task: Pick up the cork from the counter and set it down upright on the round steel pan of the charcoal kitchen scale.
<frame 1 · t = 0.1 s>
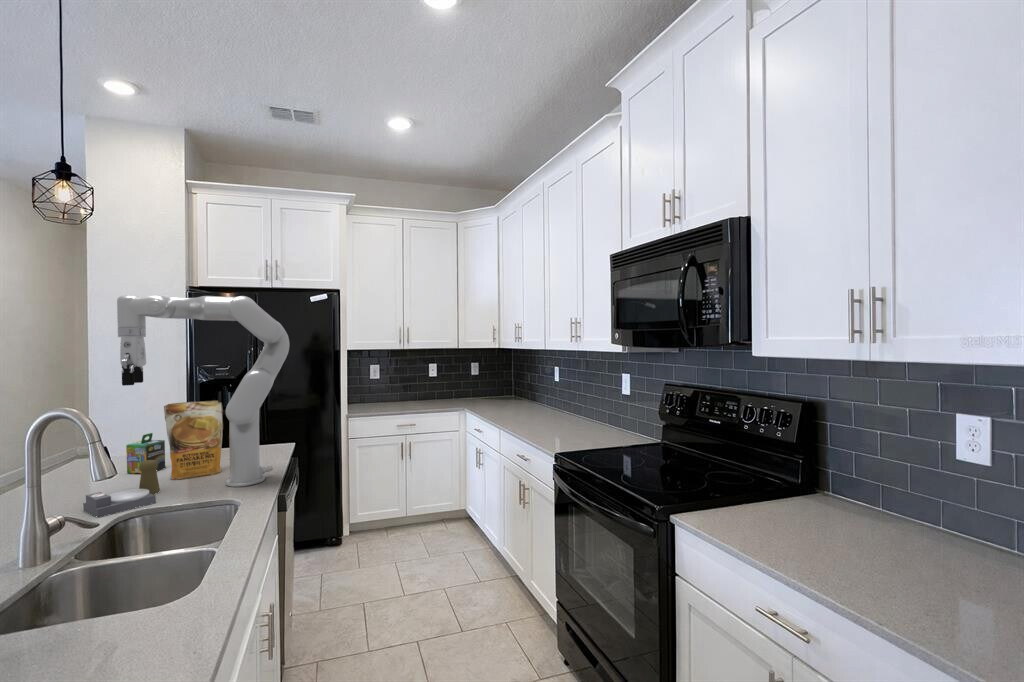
hand: (133, 383, 169), 37 cm above the worktop, tool pointing down, fingers open, 9 cm apart
kitchen scale: (120, 506, 157), on the worktop
cork: (149, 493, 171), on the worktop
chalk box: (146, 471, 199), on the worktop
pancake mix bag: (196, 476, 192), on the worktop
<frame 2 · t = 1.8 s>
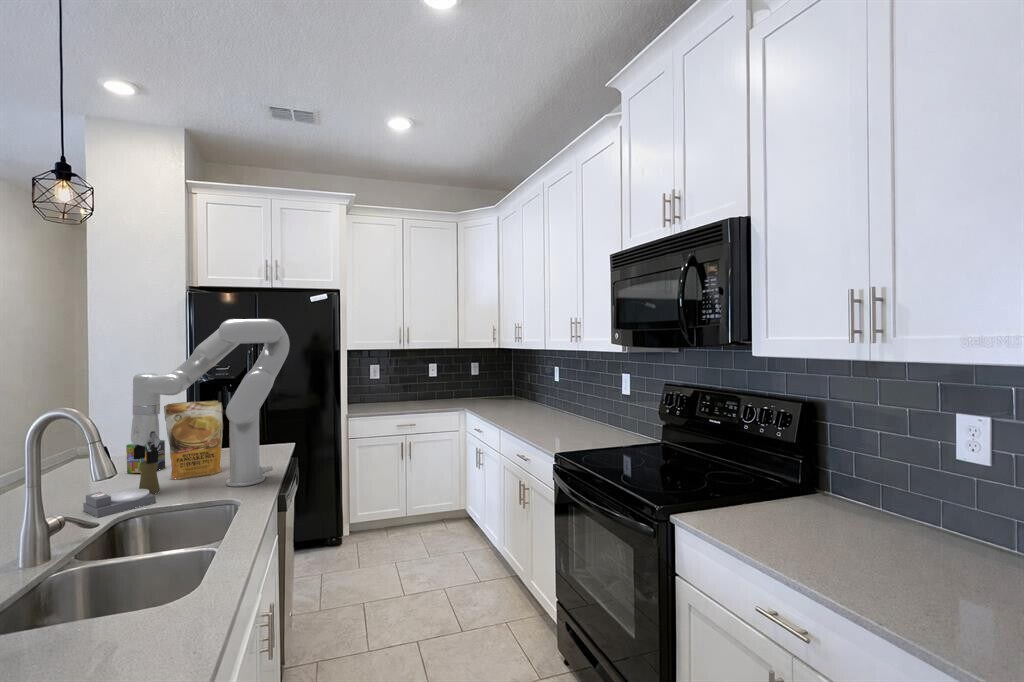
hand: (145, 460, 170), 11 cm above the worktop, tool pointing down, fingers open, 9 cm apart
nothing on the worktop moved.
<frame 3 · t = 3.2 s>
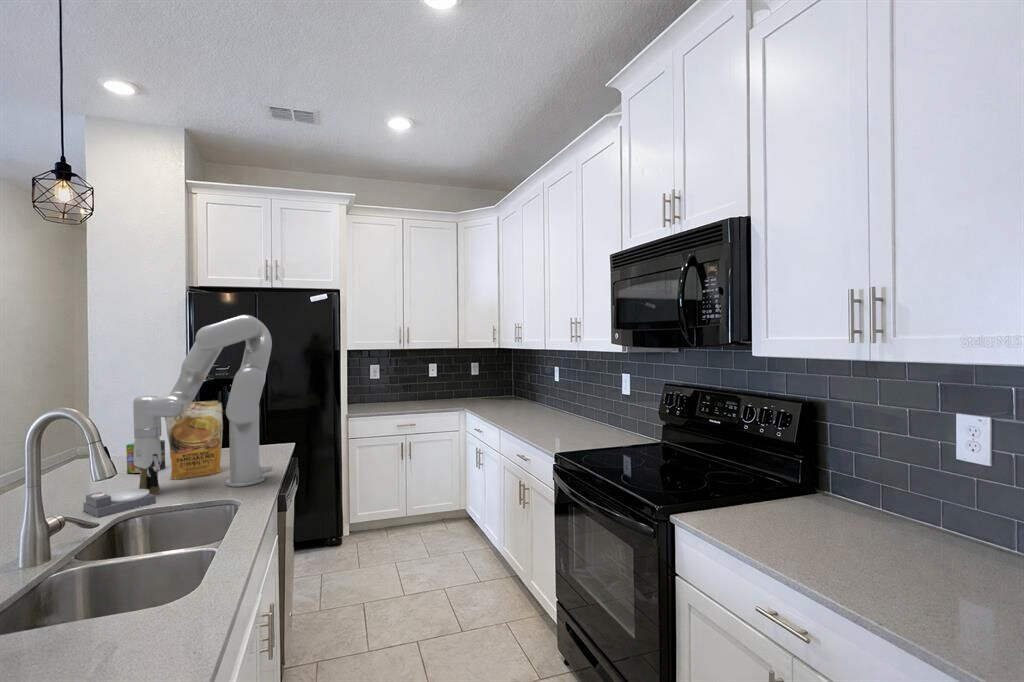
hand: (149, 486, 171), 2 cm above the worktop, tool pointing down, fingers closed on cork, 3 cm apart
cork: (149, 493, 171), on the worktop, touching gripper
everything else where it was.
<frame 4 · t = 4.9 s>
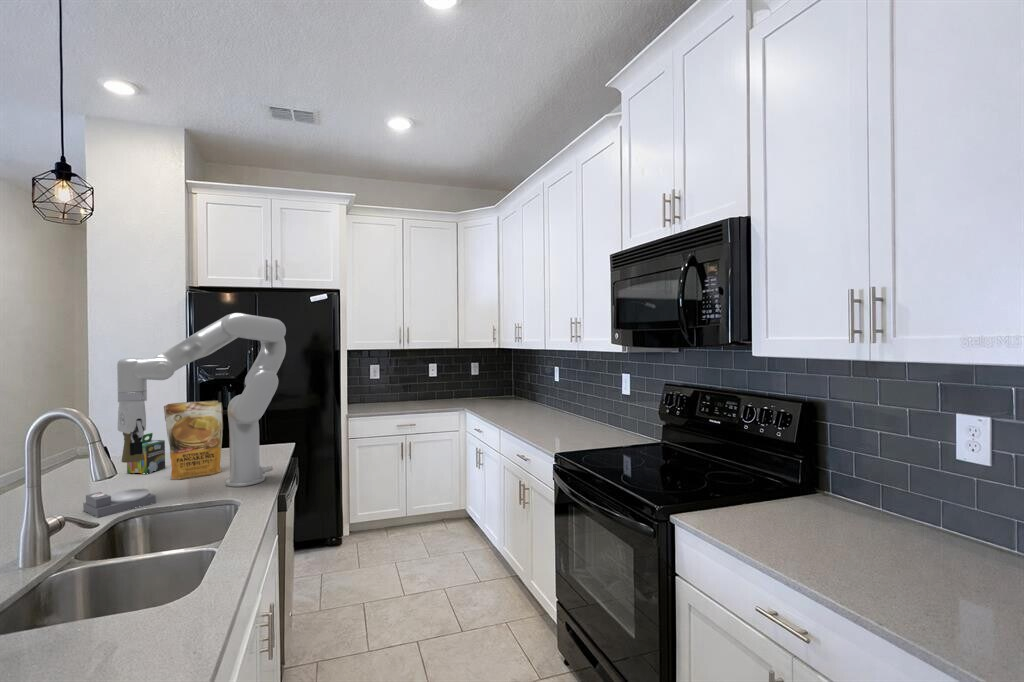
hand: (133, 453, 163), 15 cm above the worktop, tool pointing down, fingers closed on cork, 3 cm apart
cork: (133, 460, 163), point 13 cm above the worktop, touching gripper
everything else where it was.
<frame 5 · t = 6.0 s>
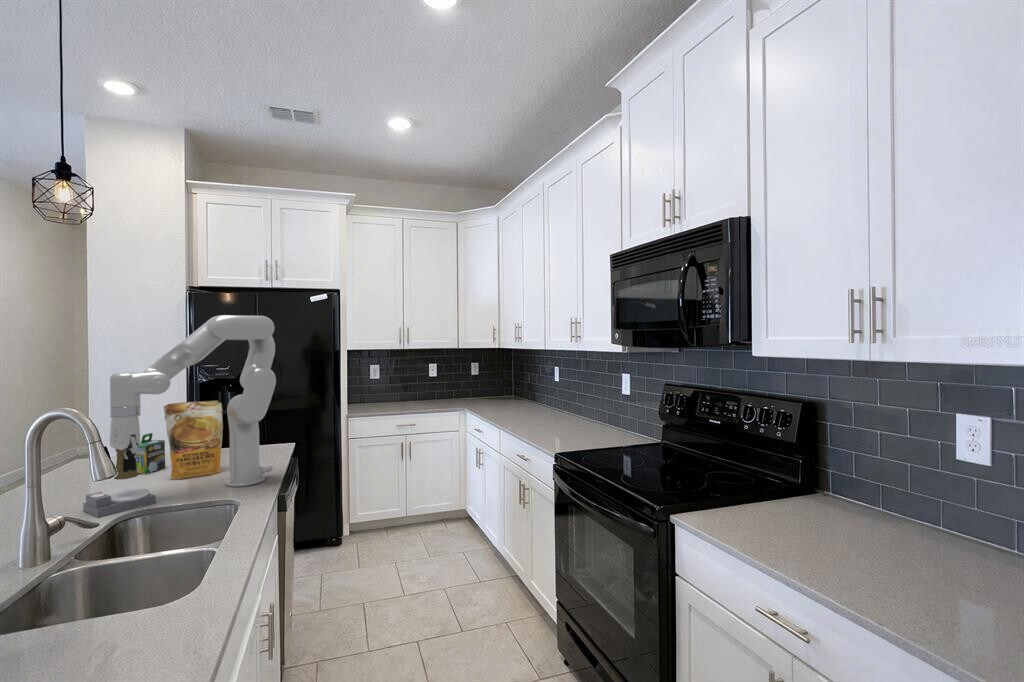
hand: (126, 469, 159), 11 cm above the worktop, tool pointing down, fingers closed on cork, 3 cm apart
cork: (126, 477, 159), point 9 cm above the worktop, touching gripper
everything else where it was.
when the fingers open (7 cm above the worktop, at t = 6.9 s): cork drops 2 cm, resting on kitchen scale.
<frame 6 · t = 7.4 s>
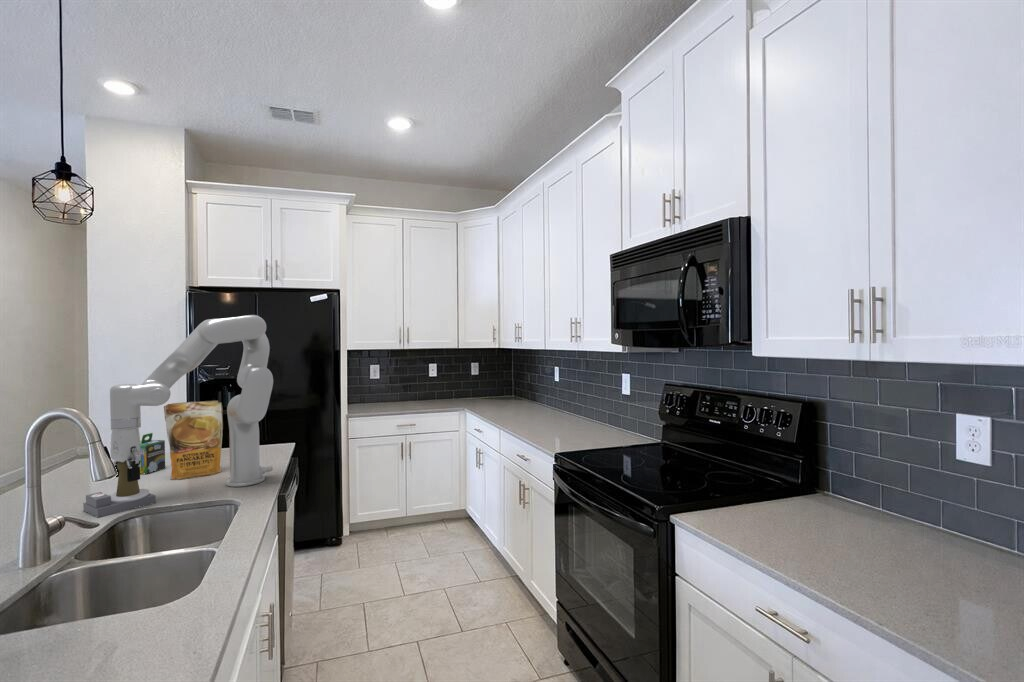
hand: (127, 478, 159), 8 cm above the worktop, tool pointing down, fingers open, 9 cm apart
cork: (128, 494, 159), point 3 cm above the worktop, touching kitchen scale
everything else where it was.
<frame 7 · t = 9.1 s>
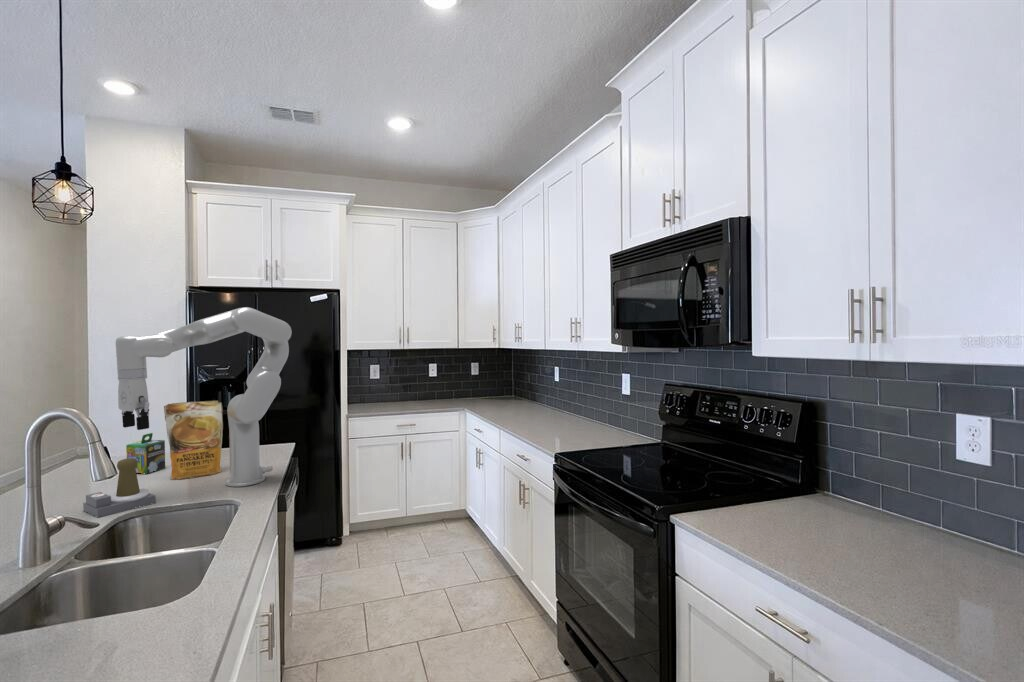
hand: (136, 427, 162), 24 cm above the worktop, tool pointing down, fingers open, 9 cm apart
nothing on the worktop moved.
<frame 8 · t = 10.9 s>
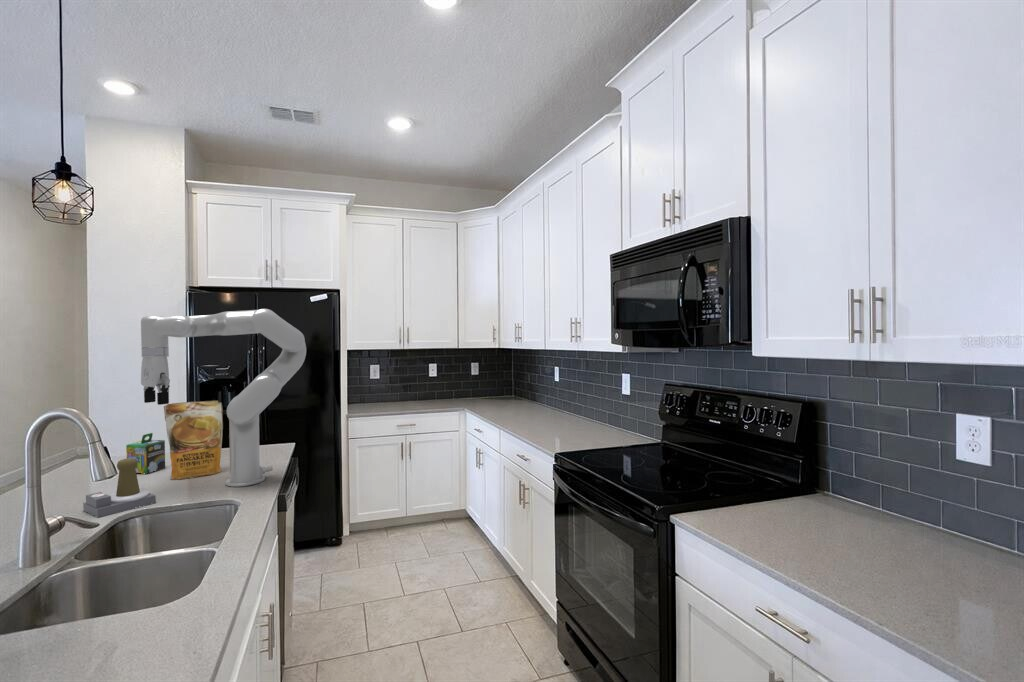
hand: (156, 403, 171), 30 cm above the worktop, tool pointing down, fingers open, 9 cm apart
nothing on the worktop moved.
at the end: cork inside the target area on the kitchen scale (0.4 cm from its centre), point 3.2 cm above the kitchen scale's base; cork tilted 0°; the gripper is holding nothing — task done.
